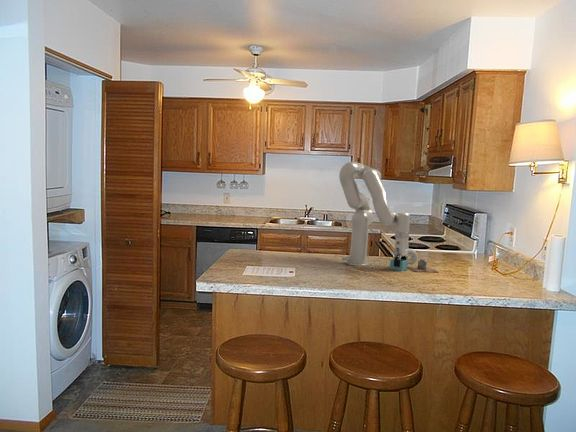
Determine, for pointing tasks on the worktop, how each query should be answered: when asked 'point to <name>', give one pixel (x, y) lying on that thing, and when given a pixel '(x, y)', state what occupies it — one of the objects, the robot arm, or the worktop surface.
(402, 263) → the collar
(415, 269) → the hub board
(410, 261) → the donut
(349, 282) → the worktop surface
